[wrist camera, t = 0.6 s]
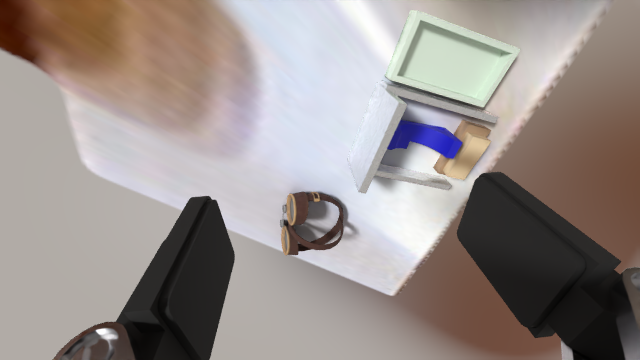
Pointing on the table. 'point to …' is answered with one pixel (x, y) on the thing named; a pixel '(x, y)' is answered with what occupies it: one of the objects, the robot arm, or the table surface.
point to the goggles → (298, 215)
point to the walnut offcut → (460, 133)
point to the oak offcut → (466, 156)
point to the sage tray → (449, 59)
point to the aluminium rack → (380, 131)
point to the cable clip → (425, 138)
